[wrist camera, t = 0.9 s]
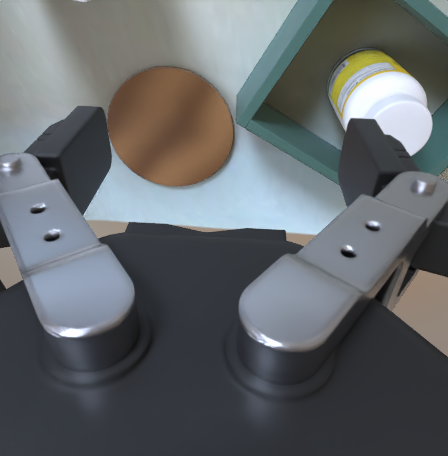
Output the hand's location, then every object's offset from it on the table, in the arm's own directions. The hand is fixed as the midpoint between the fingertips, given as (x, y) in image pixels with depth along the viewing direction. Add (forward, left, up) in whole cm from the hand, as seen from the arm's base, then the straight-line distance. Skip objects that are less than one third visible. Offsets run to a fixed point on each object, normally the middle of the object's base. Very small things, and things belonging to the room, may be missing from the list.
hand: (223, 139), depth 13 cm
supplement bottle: (+11, +1, -21) cm, 24 cm away
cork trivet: (0, -11, -21) cm, 23 cm away
